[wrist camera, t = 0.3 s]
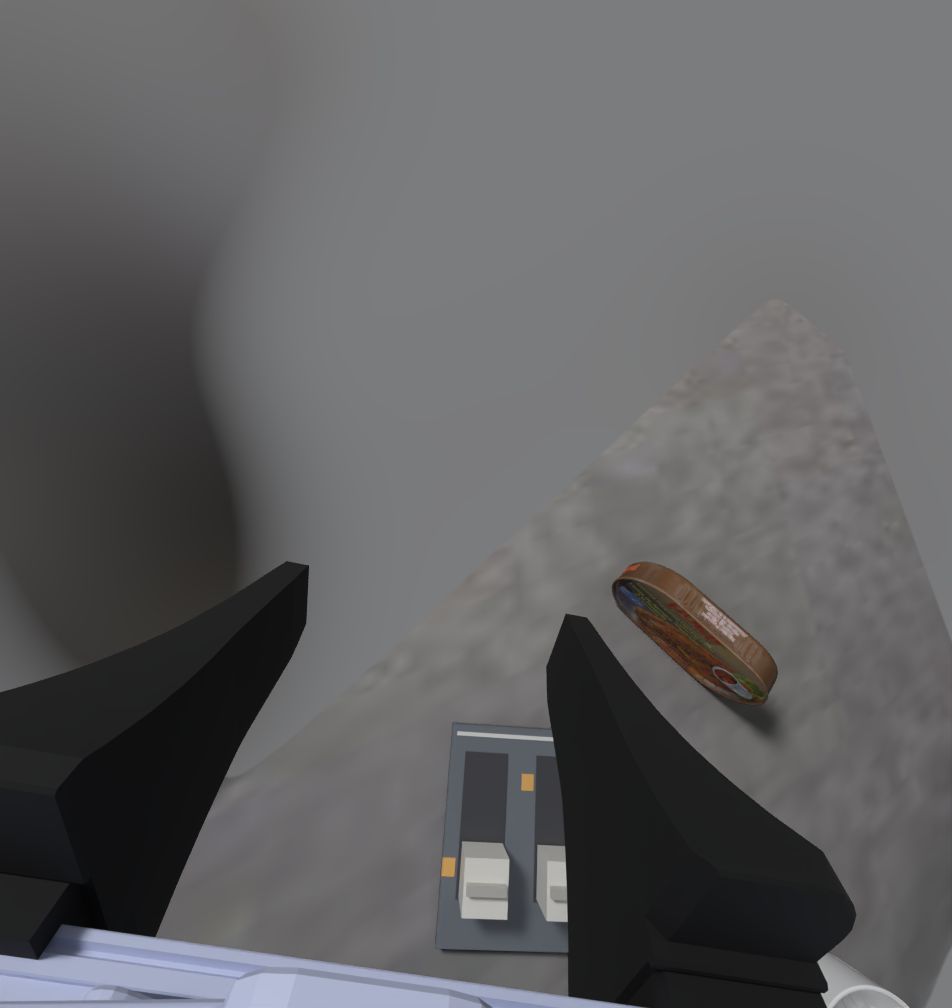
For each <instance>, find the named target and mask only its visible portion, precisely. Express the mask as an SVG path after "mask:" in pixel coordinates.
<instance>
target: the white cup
mask: <svg viewBox="0 0 952 1008" xmlns="http://www.w3.org/2000/svg"><path fill="white" fill-rule="evenodd" d="M817 962H818V964H819V966H820V968H821V971H822V973H823V975H824V977H825V979H826V981H827V983H828V991H827V992H826V993H821V995H822V997H823V999H824V1001H825V1004H826V1006H827V1008H909V1007H908V1006H907V1005H906V1004H905V1003H904V1002H903V1001H902V1000H901V999H899V998H898V997H897V996H895V995H894V994H892V993H891V992H889V991H888V990H886V989H885V988H883V987H881V986H880V985H878V984H877V983H875V982H874V981H872V980H871V979H869V978H868V977H866V976H865V975H863V974H861V973H860V972H858V971H857V970H855V969H854V968H852V967H851V966H849V965H848V964H846V963H845V962H843V961H842V960H840V959H839V958H837V957H836V956H834V955H832V954H830V953H829V952H828V953H827V954H826V955H825V956H823V957H822V958H821V959H820V960H819V961H817Z"/></svg>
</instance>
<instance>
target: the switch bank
mask: <svg viewBox="0 0 952 1008" xmlns="http://www.w3.org/2000/svg"><path fill="white" fill-rule="evenodd" d="M462 841H466V842H487V843H503V846H504V848H505V850H506V853H507V855H508V857H509V884H508V911H507V920H496V919H467V918H461V912H460V904H459V897H458V894H459V880H460V865H461V850H462ZM537 845H551V846H565V837H564V821H563V805H562V795H561V787H560V779H559V773H558V767H557V760H556V754H555V748H554V742H553V735H552V729H547V728H531V727H516V726H501V725H486V724H471V723H456V722H453V724H452V737H451V749H450V762H449V775H448V787H447V800H446V812H445V825H444V838H443V850H442V863H441V875H440V888H439V900H438V913H437V926H436V938H435V948H436V949H464V950H497V951H531V952H564V953H568V922H553V921H546V919H545V917H544V915H543V912H542V910H541V908H540V906H539V904H538V902H537V900H536V892H537Z"/></svg>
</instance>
